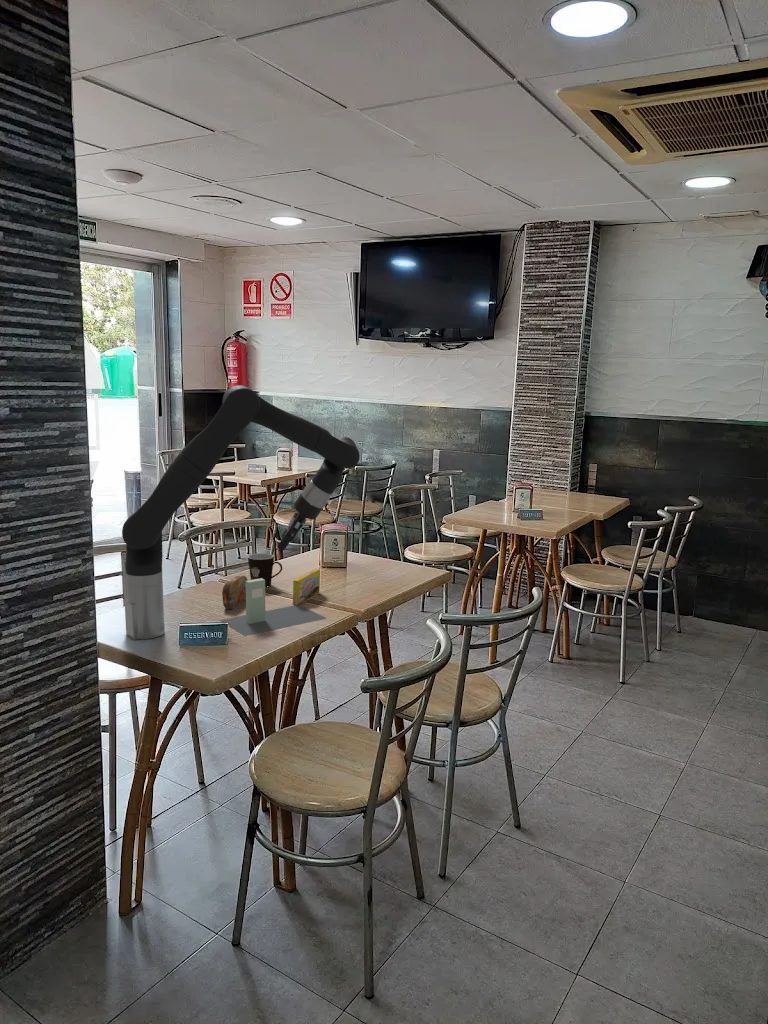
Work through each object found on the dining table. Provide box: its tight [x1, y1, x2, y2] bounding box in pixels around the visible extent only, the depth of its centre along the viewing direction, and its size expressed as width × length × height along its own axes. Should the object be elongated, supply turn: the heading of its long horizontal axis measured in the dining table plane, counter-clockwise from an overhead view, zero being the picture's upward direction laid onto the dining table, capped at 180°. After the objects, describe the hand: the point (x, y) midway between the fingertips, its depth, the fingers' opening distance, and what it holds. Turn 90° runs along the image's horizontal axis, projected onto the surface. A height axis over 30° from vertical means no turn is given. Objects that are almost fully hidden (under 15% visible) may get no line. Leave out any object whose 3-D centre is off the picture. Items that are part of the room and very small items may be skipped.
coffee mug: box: [247, 553, 283, 588], centre depth 243 cm, size 12×9×10 cm
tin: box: [221, 575, 249, 610], centre depth 222 cm, size 15×3×8 cm, turn 168°
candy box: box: [292, 568, 321, 606], centre depth 229 cm, size 16×2×8 cm, turn 161°
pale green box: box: [245, 578, 267, 624], centre depth 205 cm, size 5×2×12 cm, turn 127°
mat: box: [218, 604, 328, 637], centre depth 208 cm, size 26×16×1 cm, turn 127°
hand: (282, 543), depth 211 cm, fingers open, 8 cm apart
